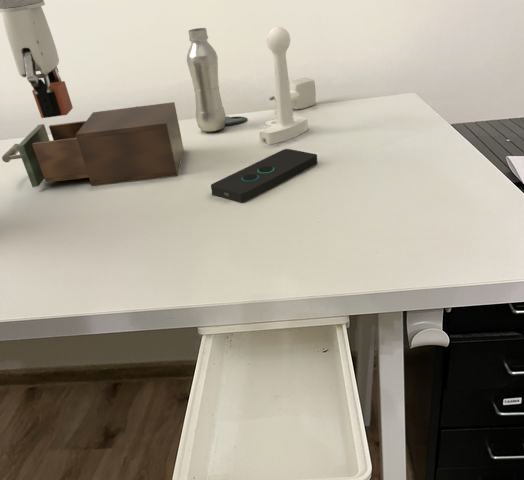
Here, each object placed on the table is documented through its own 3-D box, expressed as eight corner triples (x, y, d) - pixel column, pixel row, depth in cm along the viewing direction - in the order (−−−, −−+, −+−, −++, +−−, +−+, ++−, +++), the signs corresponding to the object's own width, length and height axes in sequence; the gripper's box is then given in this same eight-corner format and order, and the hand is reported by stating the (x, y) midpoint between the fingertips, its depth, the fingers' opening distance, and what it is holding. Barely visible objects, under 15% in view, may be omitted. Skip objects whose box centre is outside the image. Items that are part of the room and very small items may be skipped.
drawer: (6, 190, 105) (-11, 149, 100) (28, 165, 116) (13, 127, 111) (111, 177, 104) (100, 135, 99) (123, 154, 115) (113, 115, 110)
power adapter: (279, 117, 127) (277, 89, 123) (268, 113, 130) (265, 86, 127) (318, 105, 131) (317, 78, 127) (306, 102, 134) (305, 76, 131)
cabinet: (91, 185, 104) (75, 134, 99) (106, 159, 116) (92, 112, 110) (177, 175, 104) (166, 123, 98) (183, 150, 115) (174, 102, 109)
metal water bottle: (205, 125, 128) (189, 27, 115) (232, 125, 125) (218, 25, 113) (193, 134, 123) (175, 33, 111) (220, 135, 121) (205, 31, 108)
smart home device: (208, 184, 94) (285, 147, 104) (209, 194, 95) (285, 156, 105) (242, 193, 89) (319, 153, 99) (243, 203, 90) (319, 163, 101)
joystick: (273, 145, 111) (263, 33, 99) (249, 139, 116) (237, 31, 104) (312, 129, 117) (306, 21, 104) (288, 124, 121) (279, 20, 109)
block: (41, 118, 101) (31, 90, 99) (48, 111, 105) (39, 84, 102) (66, 115, 101) (57, 87, 98) (73, 108, 105) (64, 80, 102)
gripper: (14, -5, 99) (49, 102, 110) (-22, 8, 85) (23, 128, 97) (54, -10, 98) (86, 97, 110) (25, 1, 85) (64, 122, 96)
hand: (56, 111), depth 103 cm, fingers closed on block, 4 cm apart
